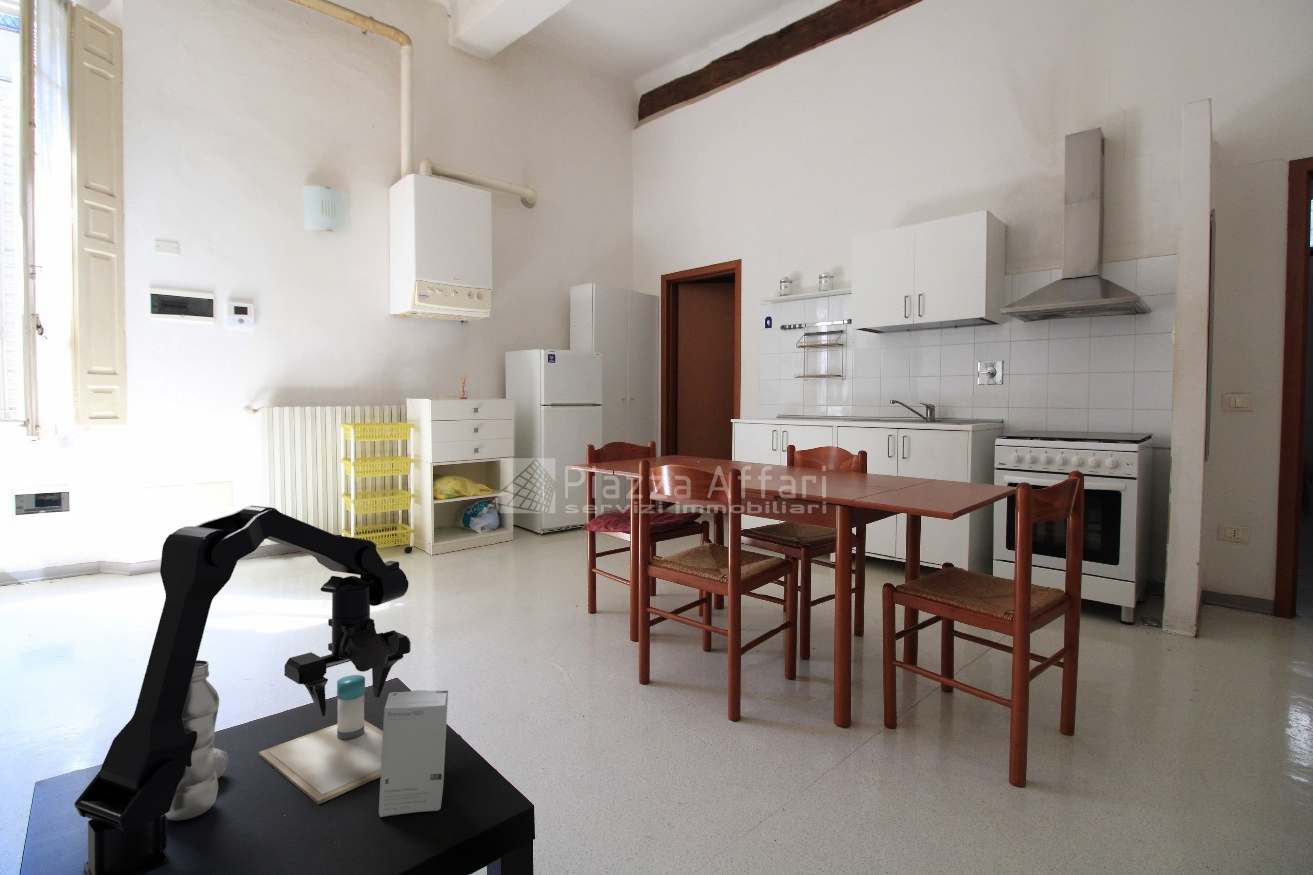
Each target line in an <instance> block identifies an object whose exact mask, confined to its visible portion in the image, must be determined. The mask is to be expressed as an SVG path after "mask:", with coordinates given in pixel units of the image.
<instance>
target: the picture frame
mask: <svg viewBox="0 0 1313 875" xmlns="http://www.w3.org/2000/svg"><path fill="white" fill-rule="evenodd" d="M337 727H338V723H336V724H333V725H331V726H327V727H325V728H322V729H319V730H317V731H314V732H310V733H308V734H305V735H302V736H299V737H297V738H294V739H292V740H288V741H286V742H282V743H280V744H277V745H275V746H271V747H269V748H267V749H264V750H261V751H258V756H259V757H260V758H261V759H263V760H264V761H265V762H266V763H267V764H268V765H270V766H271V767H272V768H274V770H276V771H277V772H278V773H279V774H281V775H282V776H283V777H284V778H285V779H287V781H289V782H291V784H293V785H294V786H295V787H296V788H298V789H299V790H300V791H301V792H303V793H304V794H305V795H306V796H307V797H309V799H311V800H312V801H313V802H315V803H316V804H317V805H321V804H323V803H325V802H327V801H329V800H332V799H334V798H336V797H338V796H340V795H342V794H345V793H347V792H350V791H351V790H354V789H356V788H358V787H360V786H363V785H366V784H367V783H369V782H371V781H374V780H376V779H379V778H381V761H382V740H383V729H382V730H381V729H380V728H379V727H377V726H375V725H373V724H372V723H370V722H368V721H367V720H365V719H364V734H363V735H362V736H360V737H358V738H355V739H351V740H340V739H338V738H337Z"/></svg>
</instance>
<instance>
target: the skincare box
mask: <svg viewBox="0 0 1313 875" xmlns="http://www.w3.org/2000/svg"><path fill="white" fill-rule="evenodd" d="M448 698H449V690H448V689H437V690H425V689H424V690H423V689H421V690H418V689H417V690H411V691H409V690H408V691H396V692H395V691H394V692H389V693H388V695H387V699H386V702H385V705H384V710H383V723H382V724H383V725H382V726H383V727H382V731H383V740H382V761H381V777H380V781H379V782H380V783H379V796H378V797H379V798H378V799H379V801H378V802H379V803H378V815H379V818H384V817H391V816H398V815H405V814H413V813H423V812H436V811H440V810H441V808H442V800H443V799H442V798H443V792H444V790H443V789H444V779H445V777H444V776H445V760H446V759H445V758H446V739H447V738H446V737H447V720H448V718H447V717H448V700H449V699H448Z"/></svg>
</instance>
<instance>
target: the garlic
mask: <svg viewBox="0 0 1313 875" xmlns="http://www.w3.org/2000/svg"><path fill="white" fill-rule="evenodd" d="M213 751H214V764H215V772H216V776H217V780H218V779H219V778H220V777H221V776H223V775H224V773H225V771H226V769H227V767H228V765H229V756H228V755H229V754H228V753H227V752H226V751H224V750H222V749H220V748H216V747H213Z"/></svg>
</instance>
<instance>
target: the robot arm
mask: <svg viewBox="0 0 1313 875" xmlns="http://www.w3.org/2000/svg"><path fill="white" fill-rule="evenodd" d="M265 540H269V541H271V542H274V543H277V544H279V545H283V546H285V547H289V548H290V549H294V550H296V551H299V552H301V553H305V554H308V555H309V556H312V557H313V558H315V560H316V561H317V562H318V563H319V564H320V565H322V566H323V567H324V568H327V569H328V570H329V571H332V572H338V573H345V574H350V575H349V576H346V577H342V576H336V575H331V576H330V577H329V579H328V580H327V581H326V582H325V583H324V584H322V586H321V587H320V592H325V593H330V594H331V601H332V602H331V618H329V619H328V620H327V621H328V622H327V623H328V625H327V626H329V627H331V642H329V643H327V644H328V645H327V650H328V651H330V652H331V654H327V655H322V656H319V655H317V654H315V653H313V652H312V651H311V652H307V653H303V654H299V655H296V656H295V655H294V656H292V657H289V658H288V659H287V661H286V663H285V664H284V674H283V676H285V677H286V678H287V679H289V680H291V681H293V682H295V683H296V684H298V685H303V686H305V688H306V690H307V691H308V693H309V695H310V697H311V700H312V702H313V703H314V706H315V708H316V710H317V712H318V715H319V716H320V717H322V718H324V717H325V716H326V710H327V708H326V707H327V706H326V705H327V702H326V686H327V684H328V681H329V679H328V678H327V677H325V675H327V669H328V668H332V667H335V666H338V665H341V664H346V663H349V662H351V663H352V665H354V667H355V669H356V670H357V671H358V672H361V673H363V672H367V671H369V670H371V672H372V674H371V676H372V677H371V678H372V680H371V681H372V690H373V696H374V698H376V699H378V698H380V696H381V694H382V691H383V689H384V687H385V683H386V681H387V679H388V676H389V673H390V671H391V669H392V667H393V666H394V665H395V664H396V663H397V662H399V661H400V660H403V659H404V655H405V654H406V655H407V654H410V652H411V644H412V643H411V639H410V638H409V636H407V635H405V634H403V633H400V632H398V631H396V630H389V631H385V632H380V633H379V632H378V633H377V630H376V624H375V620H374V619H373V618H371V607H376V606H380V605H383V604H385V603H388V602H391V601H393V600H396V599H399V598H402V597H404V596H405V595H406V594H407V592H408V589H409V580H408V578H407V575H406V573H405V572H404V571H403V569H402V568H400V562H399V561H395V560H388V561H384V560H383V558H382V556H381V555H380V554H379V552H378V551H377V544H376V543H375V542H374V541H372V540H370V539H364V538H357V537H351V536H343V535H338V534H333V533H332V532H329V531H327V530H324V529H321V528H319V527H317V526H314V525H312V524H310V523H307V522H305V521H301V520H300V519H298V518H295V517H292V516H289V515H287V514H284V513H282V512H280V511H279V510H278V509H277V508H275V507H272V506H271V507H270V506H263V505H262V506H260V505H248V506H246V507H243V508H241V509H239V510H236V511H234V512H233V513H230V514H226V515H223V516H220V517H219V516H218V517H217V518H213V519H210V520H207V521H204V522H202V523H199V524H196V525H195V526H194V525H193V526H184V527H181V528H178V529H177V530H175V531H174V532H172V533H169V534H168V536H167V537H166V539H165V540H164V542H163V545H162V549H161V556H160V557H161V558H160V559H161V560H160V570H159V573H160V576H161V578H160V579H161V580H162V585H163V589H164V592H165V593H164V594H165V599H164V603H163V607H162V610H161V615H160V617H159V622H158V626H157V629H156V633H155V637H154V639H153V644H152V649H151V652H150V654H149V658H148V662H147V666H146V670H145V674H144V676H143V677H144V678H143V681H142V684H141V687H140V691H139V694H138V698H137V703H136V705H135V706H136V707H135V710H134V713H133V715H132V716H131V719H130V720H129V721H128V722H127V723H126V724H125V726H123V728H122V729H121V730H120V731H119V733H117V735H116V736H115V737H114V738H113V740H112V742H111V743H110V744H111V745H110V746H109V749H108V752H107V754H106V755H105V757H104V760H103V762H102V765H101V767H100V770H99V771H98V772H97V774H96V775H95V776H94V778H93V779H92V780H91V781H90V783H89V784H88V785H87V786H86V787H85V789H84V790H83V792H82V793H81V794H80V796H79V797H78V798H77V799H76V800H75V802H74V807H75V810H77V813H78V814H79V816H80V817H83V818H88V819H89V820H88V821H87V852H88V853H87V858H88V859H87V861H85V862H84V864H83V869H84V871H85V873H86V874H87V875H140V874H143V873H145V872H147V871H150V870H152V869H154V868H156V867H158V866H161V865H163V864H165V863H166V862H167V855H166V853H165V852H164V851H165V850H166V849H167V847H168V819H167V816H166V815H165V814H166V813H168V812H169V811H170V808H171V805H172V802H173V799H174V796H175V792H176V789H177V786H178V784H179V783H180V781H181V780H182V778H183V775H184V773H185V770H186V766H187V767H191V766H192V762H191V756H192V751H193V748H194V746H195V743H196V741H197V731H193V730H190V729H186V728H185V727H184V723H183V719H182V716H183V710H184V707H185V703H186V699H187V695H188V691H189V687H190V683H191V679H192V676H193V672H194V668H195V664H196V660H198V656H199V652H200V649H201V645H202V640H203V636H204V632H205V629H206V624H207V620H208V617H209V613H210V610H211V606H212V602H213V600H214V598H215V597H216V596H217V595H218V594H219V592H220V591H222V590H223V588H224V587H225V586H226V584H228V582H229V581H231V580H230V579H231V578H232V576H233V573H234V571H235V568H236V566H237V564H238V561H239V560H240V559H243V558H244V557H246V556H248V555H250V554H251V553H253V552H255V551H256V550H257V549H258V548H259V546H260V545H261V544H262V543H263V542H264V541H265ZM351 574H352V575H351ZM356 575H359V577H358V576H356Z"/></svg>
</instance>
